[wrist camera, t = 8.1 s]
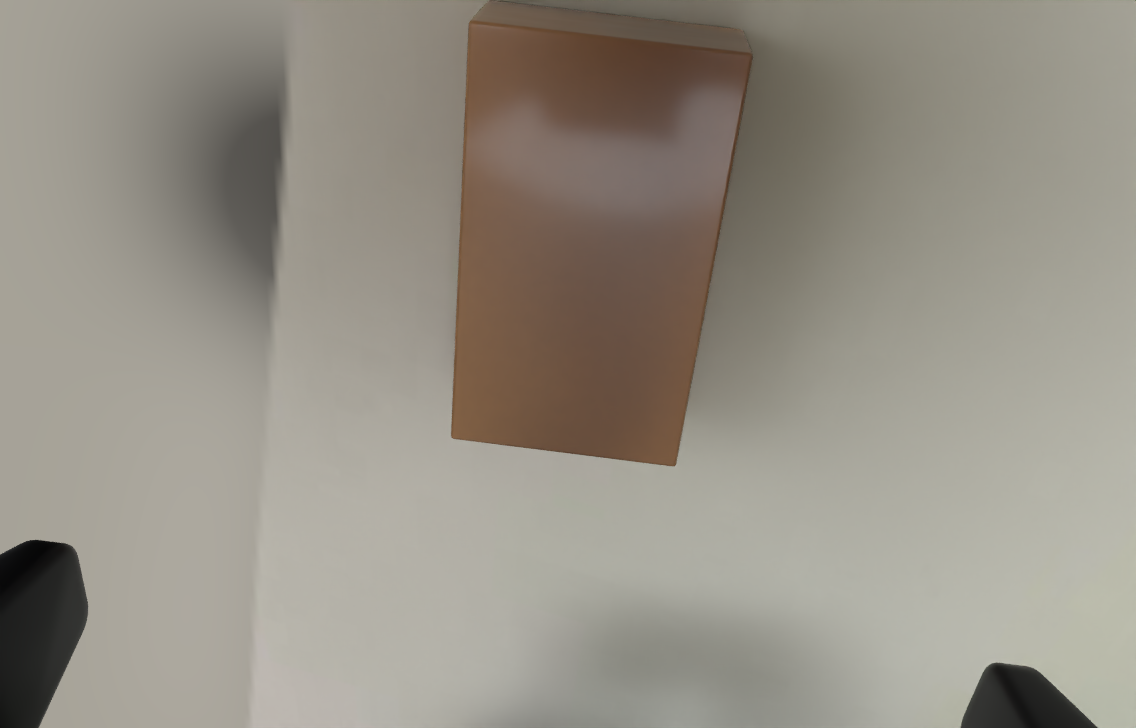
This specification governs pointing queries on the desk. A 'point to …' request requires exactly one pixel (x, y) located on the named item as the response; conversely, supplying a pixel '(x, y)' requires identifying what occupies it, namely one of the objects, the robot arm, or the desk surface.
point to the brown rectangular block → (589, 225)
